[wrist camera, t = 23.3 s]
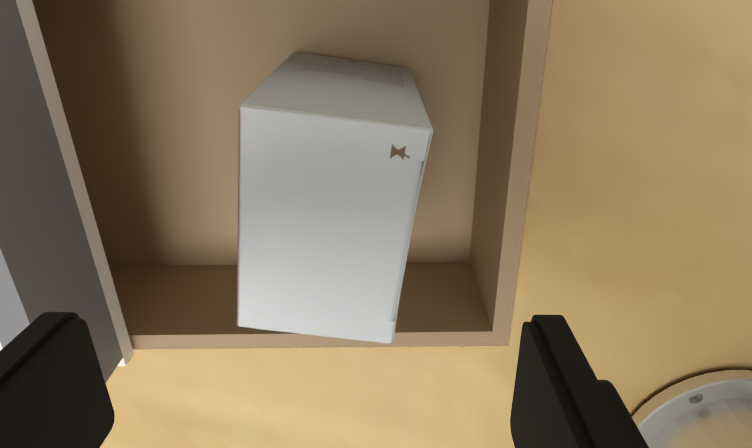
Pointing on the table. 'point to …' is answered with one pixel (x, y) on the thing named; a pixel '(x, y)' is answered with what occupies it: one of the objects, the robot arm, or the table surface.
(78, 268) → the lid
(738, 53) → the table surface
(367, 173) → the small box
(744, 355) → the table surface
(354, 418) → the table surface
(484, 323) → the tray
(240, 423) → the table surface
